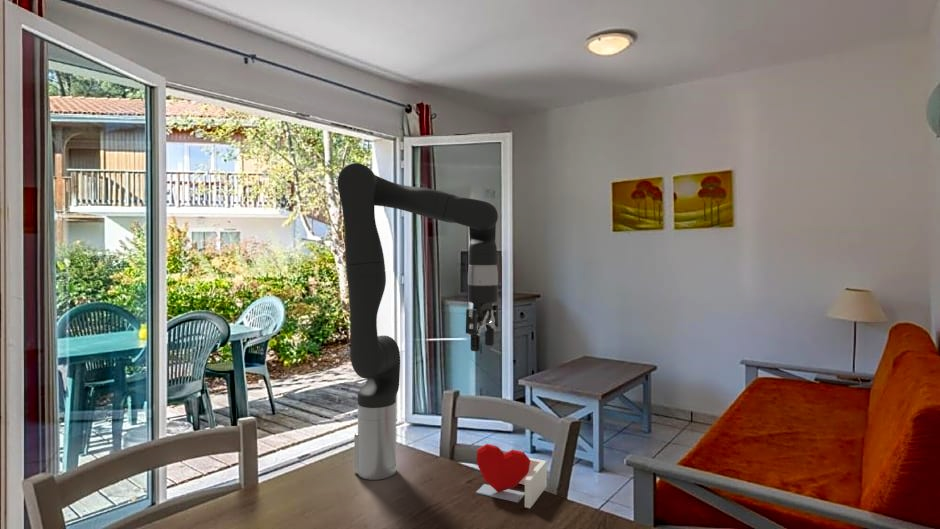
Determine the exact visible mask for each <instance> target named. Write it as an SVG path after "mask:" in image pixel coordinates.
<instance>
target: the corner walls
mask: <svg viewBox="0 0 940 529" xmlns="http://www.w3.org/2000/svg"><path fill="white" fill-rule="evenodd" d="M528 458H529V459H530V466H529V472H528V474H527V475H526V476H525V477H524V478H523V479H522V480H521V481H520V482H519V483H518V484H520V485H524V493H525V495H524V508H527V509H531V507H533V505H534V504H535V503H536V502H537V500H538V499H539V498H540V496H541V494H543V493H544V491H545V489H546V488H547V480H548V478H547V467H548V466H547V465H548V462H547V460H544V459H543V460H542V459H538V458H532V457H528Z"/></svg>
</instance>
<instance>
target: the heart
mask: <svg viewBox="0 0 940 529" xmlns="http://www.w3.org/2000/svg"><path fill="white" fill-rule="evenodd" d="M529 458H530V457H528V456H527V454H526V453H525V452H524V451H522V450H515V449H511V450H508V451H506V452H505V453H504V452H503V450H502V449H500V447H499V446H497V445H493V444H489V443H486V444H484V445H482V446H480V447H478V448H477V452H476V457H475V462H476V465H477V467H478V469H479V472H480V473H481V474H480V475H481V476H482V477H483V478H482V479H483V480H484V481H485V482H486V483H487V485H491V486H492V487H493V488H494V489H495V490H496V491H497V492H501V491H504V490H507V489H510V490H511V489H513V488H516V487H517V485H518V484H519V482H520V481H521V480H522V479H523V478H524V477H525V476H526V475H527V474H528V472H529V466H530V459H529Z"/></svg>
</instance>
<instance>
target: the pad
mask: <svg viewBox="0 0 940 529" xmlns="http://www.w3.org/2000/svg"><path fill="white" fill-rule="evenodd" d="M475 494H478V495H484V496H488V497H491V498H497V499H501V500H505V501H510V502H514V503H519V502H520V501H521V500H522V498H523V497H525V491H523V492H522V491H519V490H515V489H511V488H510V489H507V490H504V491H501V492H497V491H496V490H495V489H494V488H493V487H492V486H491V485H489V484H488V483H487V484H486V483H484V484H482V485H481V486H480V488H479V489H477V490H476V491H475Z"/></svg>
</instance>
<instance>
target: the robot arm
mask: <svg viewBox="0 0 940 529" xmlns="http://www.w3.org/2000/svg"><path fill="white" fill-rule="evenodd" d="M337 189H338V193H339V194H338V195H339V199H340V205H341V209H342V214H343V220H344V221H343V222H344V248H345V250H344V252H345V253H344V254H345V269H346V280H347V287H348V299H349V302H348V303H349V313H350V314H349V315H350V316H349V317H350V319H349V320H350V326H349V327H350V337H349V338H350V339H349V351H350V362H351V367H352V369H353V370H354V372H355V374H356V375H357V376H359V378H362V379H365V380H366V379H367V380H366V382H365V384H364V385H363V386H362V387H361V389H360V390H359V391H358V393H357V432H356V433H355V434H354V439H353V440H354V443H353V444H354V445H353V446H354V448H353V449H354V474H357V475H358V476H359V477H360V478H362V479H364V480H371V481H374V480H375V481H376V480H378V481H379V480H383V479H387V478H390V477H392V476H393V475H394V476H395V474H396V472H397V394H398V391H399V389H400V381H401V380H400V379H401V377H400V376H401V353H400V348H399V346H398V343H397V342H396V340H395V339H394V338H392V337H391V336H390V335H379V334H378V326H377V325H378V324H377V323H378V312H379V309H380V305H381V302H382V299H383V295H384V293H385V289H386V288H385V287H386V283H387V274H386V265H385V264H386V263H385V255H384V250H383V246H382V245H383V244H382V242H381V238H380V234H379V232H378V228H377V222H376V217H375V216H376V214H375V213H376V212H375V207H386V208H392V209H396V210H402V211H405V212H408V213H411V214H415V215H418V216H421V217H425V218H429V219H432V220H433V219H434V220H437V221H440V222H444V223H452V224H459V225H462V226H465V227H468V233H469V236H468V237H469V246H468V247H469V248H468V271H467V301H468V302H469V303H472V304H473V305H472V308H466V309H465V310H466V312H465V313H466V314H465V334H466V335H467V334H468V335H469V336H470V351H471V352H479V351H481V332H482V329H484V330H485V331H484V344H485V346H490V347H492V346H494V345H495V331H496V329H497V328H498V327H499V305H498V304H497V302H498V301H499V272H498V248H497V244H496V233H497V231H496V228H497V227H496V226H497V222H498V219H499V213H498V210H497V208H496V207H495V206H494V205H493V204H491V203H490V202H487V201H485V200H479V199H474V198H469V197H462V196H458V195H456V194H452V193H448V192H446V191H445V192H444V191H441V190H436V189H433V188H427V187H420V186H411V185H405V184H404V185H403V184H399V183H397V182H396V183H395V182H393V181H390V180H387V179H386V178H382V177H380V176H378V175H376V174H375V173H374V172H373V171H372V169H370V168H369V167H368V166H366V165H365V164H364V163H360V162H351V163H348V164H347V165H345V166H344V167H343V168H341V170H340V172H339V174H338V176H337ZM495 303H496V304H495Z"/></svg>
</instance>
